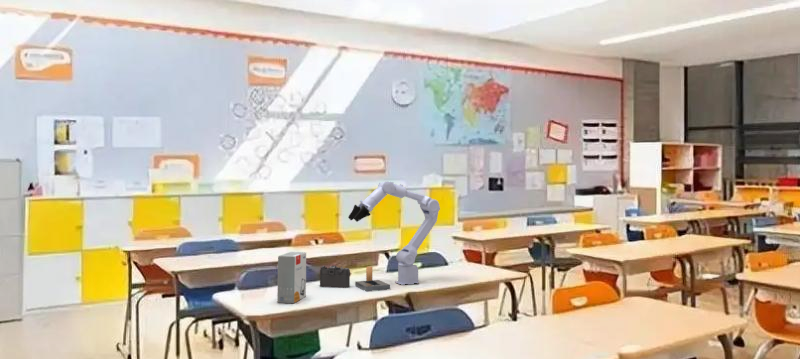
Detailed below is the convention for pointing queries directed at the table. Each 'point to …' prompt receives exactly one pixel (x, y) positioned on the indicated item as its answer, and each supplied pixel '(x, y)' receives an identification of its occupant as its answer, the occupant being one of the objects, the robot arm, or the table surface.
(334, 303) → the table surface
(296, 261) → the hard drive box
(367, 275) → the peg
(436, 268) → the table surface
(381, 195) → the robot arm
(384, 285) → the keyhole plate
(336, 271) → the camera
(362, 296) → the table surface
